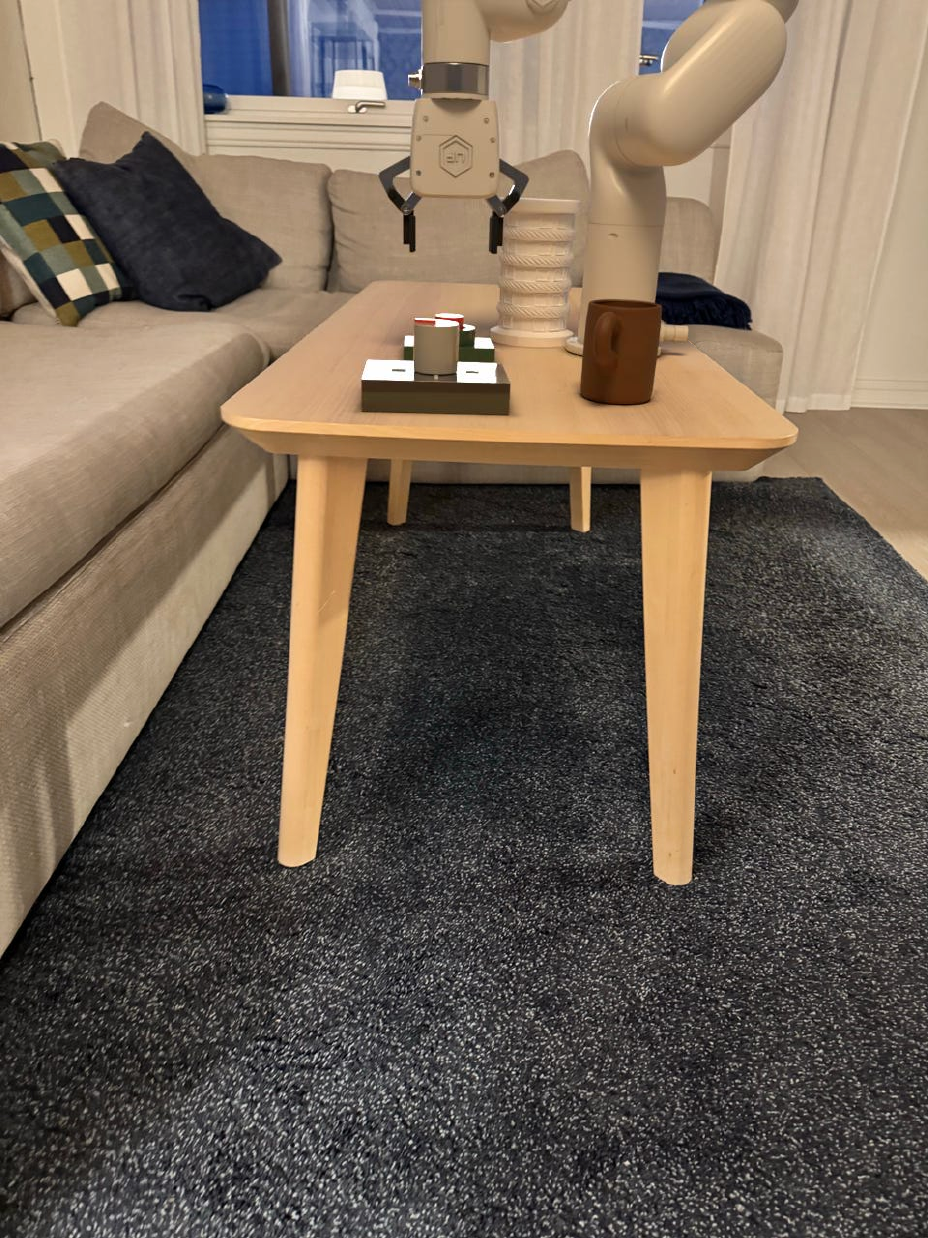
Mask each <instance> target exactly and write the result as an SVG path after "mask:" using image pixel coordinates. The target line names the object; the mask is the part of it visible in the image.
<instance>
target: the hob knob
mask: <svg viewBox="0 0 928 1238" xmlns="http://www.w3.org/2000/svg"><path fill="white" fill-rule="evenodd" d="M413 336H414V345H413V360H412V361H413V370H414V371H416V372H418V373H423V374H432V375H446V374H453V373H456V372H457V371H458V353H459V323H457V322H453V321H447V320H436V319H435V318H414V319H413Z"/></svg>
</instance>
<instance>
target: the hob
mask: <svg viewBox="0 0 928 1238" xmlns="http://www.w3.org/2000/svg"><path fill="white" fill-rule="evenodd" d="M360 382H361V383H360V385H361V386H360V387H361V388H360V391H361V392H360V395H361V397H360V398H361V412H375V413H381V412H382V413H415V414H453V415H454V414H455V415H456V414H457V415H493V416H494V415H495V416H509V415H510V403H511V387H512V384H511V381H510V378H509V376H508V374H507V371H506V369H505V367H504V365H503V363H495V362H494V363H487V362H458V371H457V372H456V373H453V374H446V375H432V374H423V373H418V372H416V371H414V370H413V360H381V359H367V360H366V363H365V367H364V370H363V372H362V377H361V379H360Z"/></svg>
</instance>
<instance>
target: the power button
mask: <svg viewBox="0 0 928 1238" xmlns="http://www.w3.org/2000/svg"><path fill="white" fill-rule="evenodd" d="M464 318H465V316H464V315H462V314H455V313H438V314H435V315H434V319H436V320H447V321H453V322H457V323H459V329H463V328H464V325H465V319H464Z"/></svg>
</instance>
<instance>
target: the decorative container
mask: <svg viewBox="0 0 928 1238" xmlns="http://www.w3.org/2000/svg"><path fill="white" fill-rule="evenodd" d="M498 198H499V199H500V201H501V202H502V201H503V200H504V199H505V197H498ZM582 202H583V201H582V200H578V199H577V200H576V199H559V198H538V197H537V198H535V197H520V199H519V201H518V202H517V203H516V204H515V205H514V206H513V208H512V209H511V210H510V211H509V212H508V213H507V214H506V215H505V216H504V220H503V244H502V246H501V250H500V251H499V254H498V260H499V264H500V275H499V276H498V279H497V286H498V289H499V298H498V299H499V300H497V303H496V312H497V314H498V320H497V325H495V326H493V327H491V328H490V335H489V338H490V339H491V341H492V342H493V343H498V344H500V345H506V346H513V347H524V348H560V347H565V344H566V340H567V339H569V338H573V337H574V332H573V331H572V330H570V329H568V328H567V322H568V316H569V315H570V312H571V305H570V303H569V298H570V292H571V291H572V287H573V281H572V279H571V273H572V272H571V271H572V267H573V266H574V262H575V256H574V254H573V247H574V241H576V237H577V228H575V222H576V214H579V213H581V212H582Z"/></svg>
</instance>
